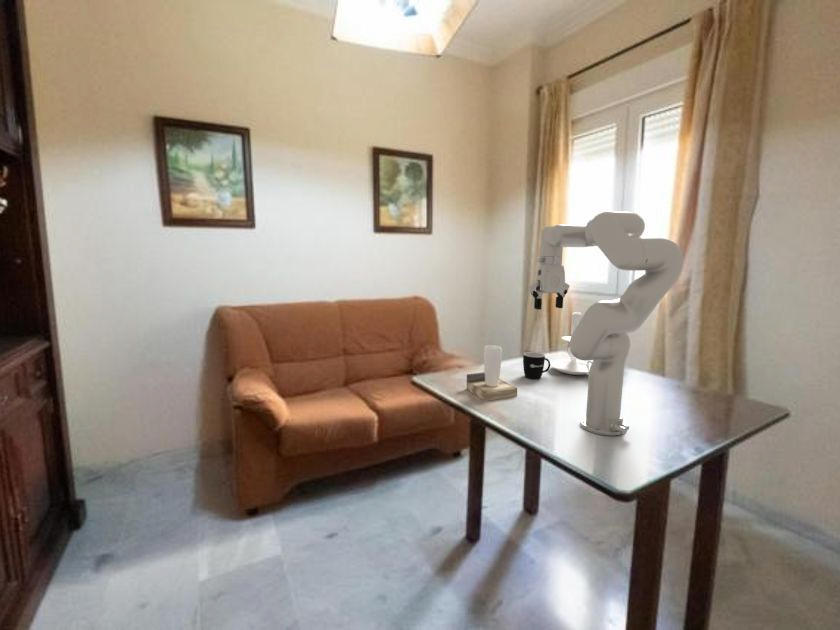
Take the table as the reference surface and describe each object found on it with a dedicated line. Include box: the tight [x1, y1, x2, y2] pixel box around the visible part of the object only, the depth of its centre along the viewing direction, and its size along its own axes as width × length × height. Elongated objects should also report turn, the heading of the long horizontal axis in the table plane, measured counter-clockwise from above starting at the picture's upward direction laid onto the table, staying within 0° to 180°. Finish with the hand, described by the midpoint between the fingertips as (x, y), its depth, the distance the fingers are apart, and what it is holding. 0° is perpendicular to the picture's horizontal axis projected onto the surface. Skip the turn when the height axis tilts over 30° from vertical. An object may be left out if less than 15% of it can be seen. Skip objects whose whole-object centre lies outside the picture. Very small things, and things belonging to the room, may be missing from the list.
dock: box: [466, 371, 518, 402], centre depth 156 cm, size 14×14×6 cm
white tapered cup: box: [483, 344, 503, 387], centre depth 155 cm, size 7×7×15 cm
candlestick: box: [550, 311, 593, 376], centre depth 180 cm, size 21×25×28 cm
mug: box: [522, 351, 551, 380], centre depth 176 cm, size 12×9×10 cm
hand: (548, 308), depth 149 cm, fingers open, 9 cm apart
